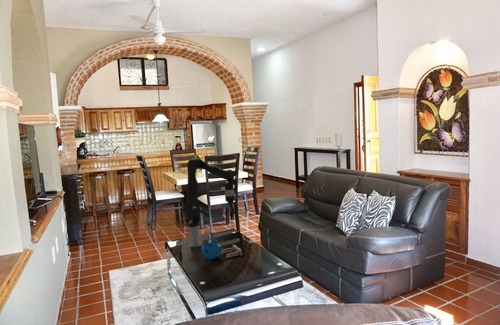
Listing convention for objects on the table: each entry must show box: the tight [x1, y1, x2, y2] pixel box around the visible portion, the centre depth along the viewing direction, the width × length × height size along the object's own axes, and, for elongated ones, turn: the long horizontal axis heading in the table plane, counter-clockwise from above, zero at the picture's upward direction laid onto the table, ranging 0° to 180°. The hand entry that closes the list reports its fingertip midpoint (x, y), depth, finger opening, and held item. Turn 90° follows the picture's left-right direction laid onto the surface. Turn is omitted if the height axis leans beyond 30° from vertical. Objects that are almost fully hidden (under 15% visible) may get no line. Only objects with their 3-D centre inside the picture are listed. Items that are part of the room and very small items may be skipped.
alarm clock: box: [201, 237, 221, 260], centre depth 271 cm, size 13×6×15 cm, turn 108°
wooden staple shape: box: [220, 244, 243, 259], centre depth 278 cm, size 16×12×4 cm
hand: (231, 216), depth 285 cm, fingers closed
